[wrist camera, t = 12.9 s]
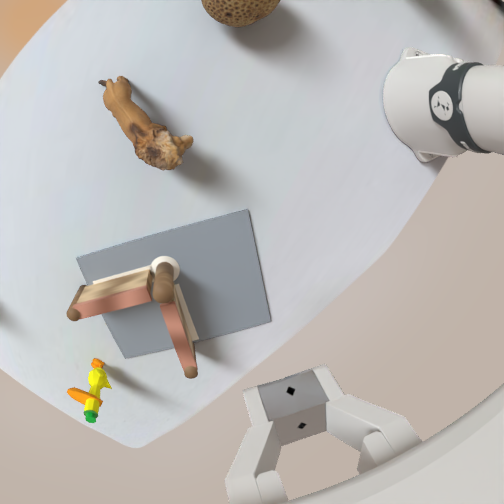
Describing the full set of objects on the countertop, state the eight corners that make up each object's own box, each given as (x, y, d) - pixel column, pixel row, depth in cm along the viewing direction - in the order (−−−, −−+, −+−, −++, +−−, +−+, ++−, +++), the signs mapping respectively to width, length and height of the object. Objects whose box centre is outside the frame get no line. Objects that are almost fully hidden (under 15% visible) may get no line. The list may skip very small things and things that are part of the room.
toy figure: (76, 361, 43) (60, 414, 32) (81, 347, 42) (64, 402, 31) (112, 376, 46) (103, 431, 35) (118, 363, 45) (110, 420, 34)
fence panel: (161, 284, 40) (159, 310, 35) (175, 281, 41) (175, 307, 35) (184, 350, 45) (186, 379, 40) (195, 348, 46) (199, 377, 40)
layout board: (247, 209, 40) (248, 210, 39) (270, 320, 47) (271, 321, 47) (77, 257, 37) (76, 258, 37) (125, 357, 44) (125, 359, 44)
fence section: (170, 258, 40) (169, 283, 34) (176, 273, 41) (175, 300, 35) (76, 284, 38) (61, 311, 32) (83, 299, 39) (70, 326, 33)
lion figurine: (197, 142, 35) (202, 146, 27) (167, 174, 36) (162, 187, 28) (114, 66, 29) (95, 49, 21) (84, 99, 30) (58, 92, 22)
